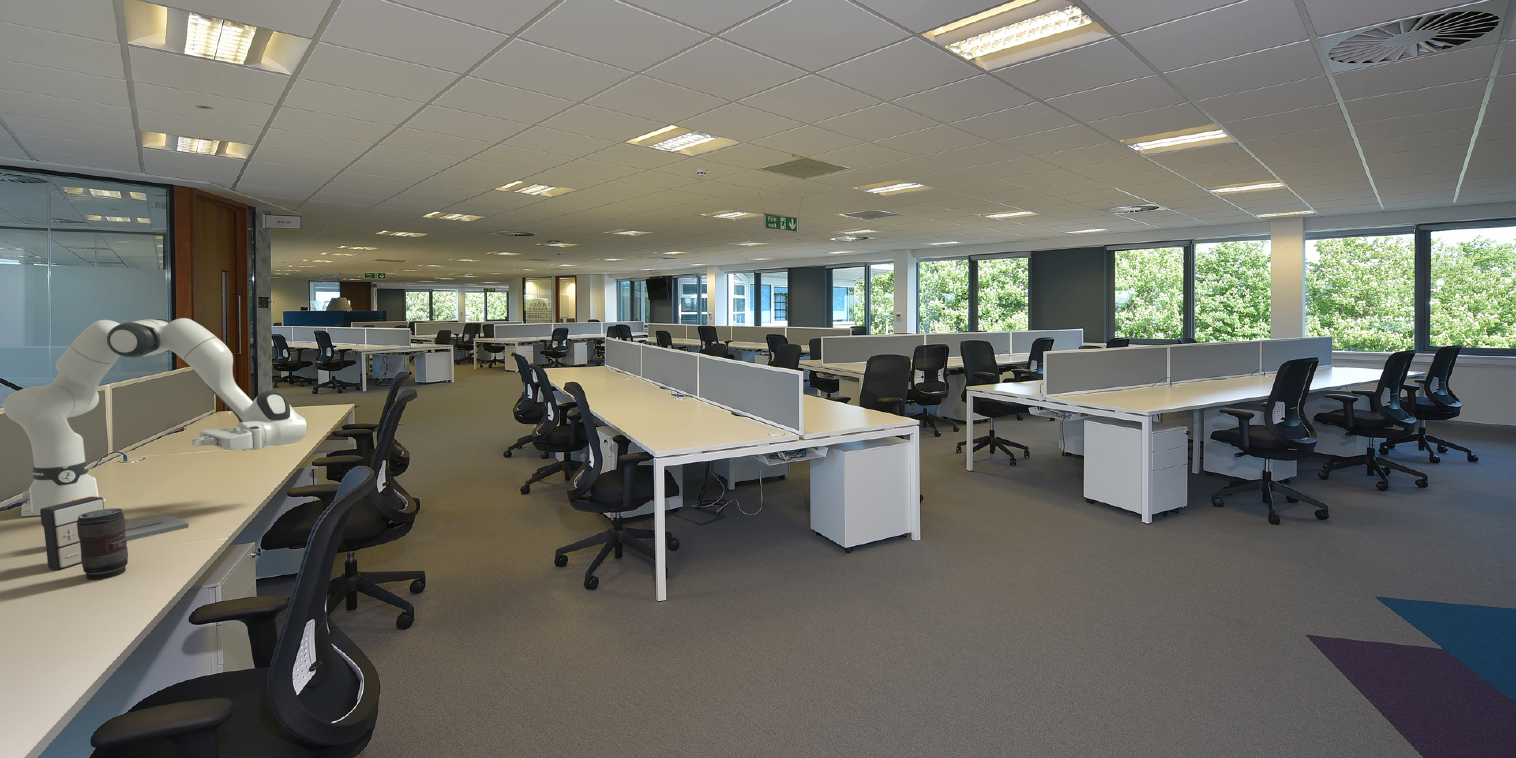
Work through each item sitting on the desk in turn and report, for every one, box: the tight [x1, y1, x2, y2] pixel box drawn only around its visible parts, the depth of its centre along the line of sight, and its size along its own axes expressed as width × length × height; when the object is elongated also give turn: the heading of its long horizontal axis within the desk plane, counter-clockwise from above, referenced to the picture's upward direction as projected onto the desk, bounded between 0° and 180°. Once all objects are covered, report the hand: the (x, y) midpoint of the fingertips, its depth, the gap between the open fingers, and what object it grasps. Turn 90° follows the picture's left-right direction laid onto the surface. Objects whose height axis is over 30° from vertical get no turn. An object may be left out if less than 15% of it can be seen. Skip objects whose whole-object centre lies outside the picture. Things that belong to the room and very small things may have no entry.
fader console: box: [125, 514, 190, 541], centre depth 189 cm, size 14×24×1 cm, turn 148°
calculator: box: [40, 496, 105, 571], centre depth 168 cm, size 11×4×15 cm, turn 168°
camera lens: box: [77, 507, 129, 581], centre depth 161 cm, size 8×8×15 cm
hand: (193, 442), depth 201 cm, fingers closed
